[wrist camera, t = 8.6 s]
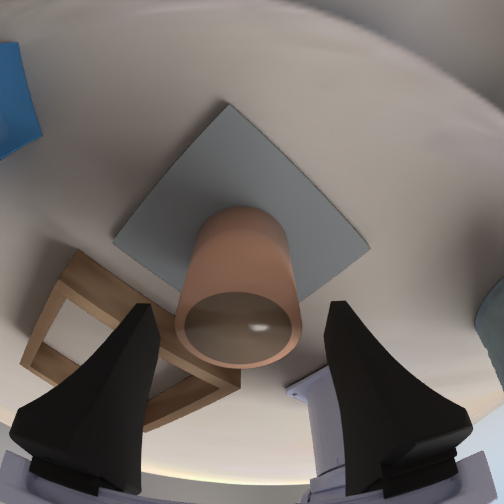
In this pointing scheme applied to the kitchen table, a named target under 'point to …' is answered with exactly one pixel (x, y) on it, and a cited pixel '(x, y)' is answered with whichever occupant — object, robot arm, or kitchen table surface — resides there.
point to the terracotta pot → (239, 292)
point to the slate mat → (239, 195)
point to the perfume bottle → (15, 103)
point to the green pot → (493, 327)
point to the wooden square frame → (112, 313)
